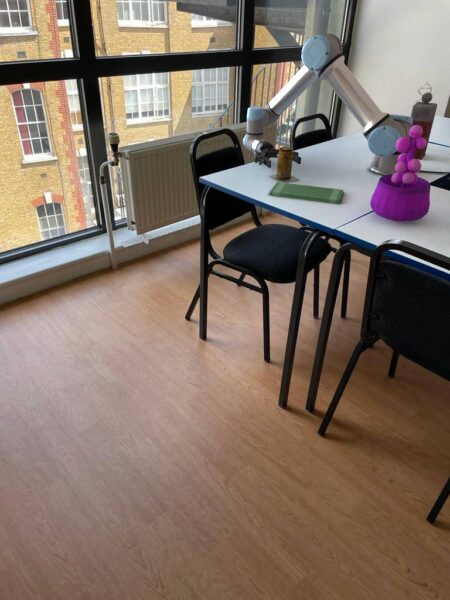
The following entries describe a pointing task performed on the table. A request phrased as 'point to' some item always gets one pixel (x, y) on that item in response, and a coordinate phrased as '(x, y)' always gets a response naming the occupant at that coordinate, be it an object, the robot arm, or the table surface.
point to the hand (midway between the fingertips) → (285, 162)
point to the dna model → (424, 88)
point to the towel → (307, 192)
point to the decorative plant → (403, 184)
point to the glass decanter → (423, 121)
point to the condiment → (284, 165)
